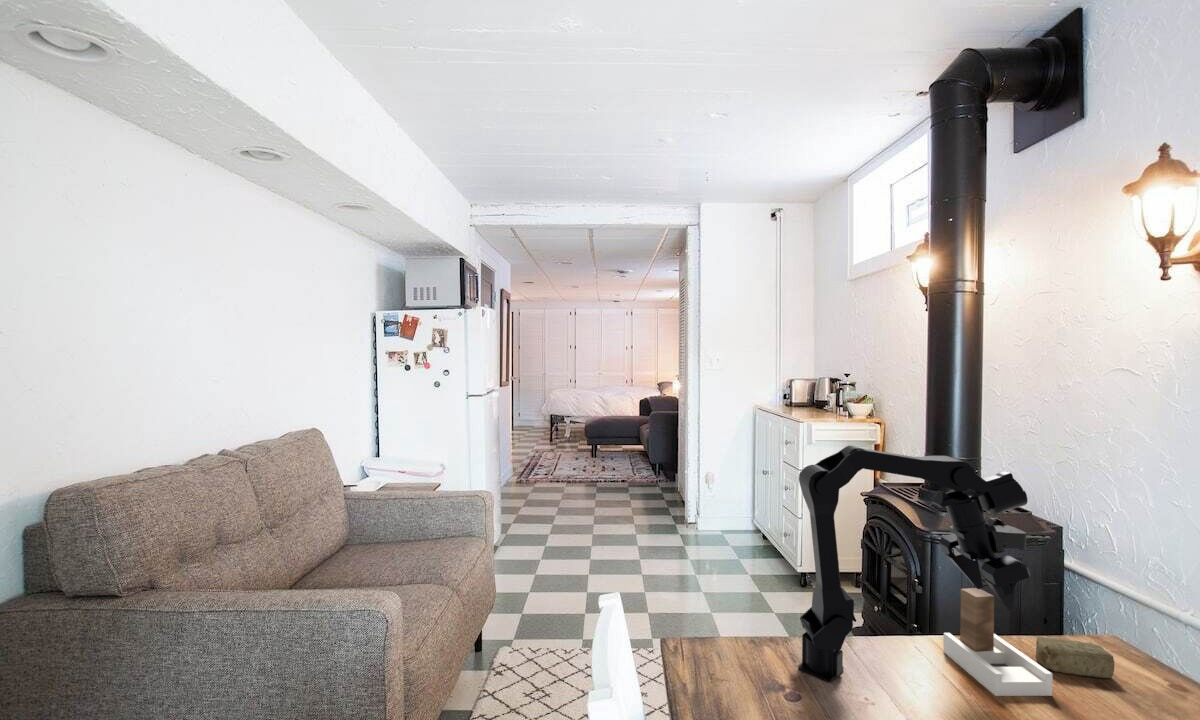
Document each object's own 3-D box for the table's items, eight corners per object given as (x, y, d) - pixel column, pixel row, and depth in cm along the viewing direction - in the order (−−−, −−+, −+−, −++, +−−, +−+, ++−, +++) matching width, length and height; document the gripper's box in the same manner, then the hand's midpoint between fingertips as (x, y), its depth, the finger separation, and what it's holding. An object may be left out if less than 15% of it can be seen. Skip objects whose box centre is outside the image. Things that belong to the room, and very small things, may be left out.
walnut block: (975, 651, 112) (976, 597, 111) (960, 641, 115) (960, 588, 115) (993, 650, 112) (994, 596, 112) (977, 640, 116) (978, 587, 116)
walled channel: (995, 695, 101) (995, 673, 101) (943, 651, 116) (943, 632, 116) (1052, 695, 101) (1052, 673, 101) (992, 651, 116) (993, 632, 116)
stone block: (1117, 682, 106) (1117, 656, 106) (1045, 673, 109) (1046, 648, 109) (1098, 666, 112) (1098, 641, 112) (1031, 658, 115) (1031, 633, 115)
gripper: (1045, 523, 98) (1075, 608, 97) (980, 496, 116) (1004, 567, 116) (982, 541, 98) (1011, 626, 98) (927, 512, 117) (951, 583, 117)
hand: (994, 598), depth 107 cm, fingers open, 9 cm apart
